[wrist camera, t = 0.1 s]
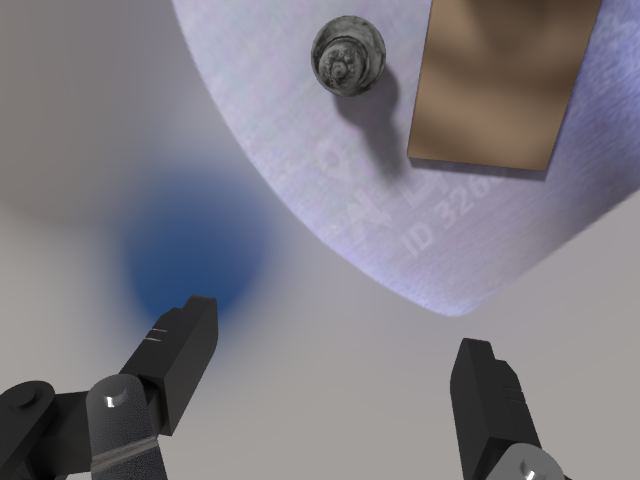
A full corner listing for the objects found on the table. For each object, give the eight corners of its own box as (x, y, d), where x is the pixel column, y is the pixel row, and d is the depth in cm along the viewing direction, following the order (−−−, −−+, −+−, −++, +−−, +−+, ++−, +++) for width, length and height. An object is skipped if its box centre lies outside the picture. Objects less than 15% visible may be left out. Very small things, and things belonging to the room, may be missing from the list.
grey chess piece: (399, 61, 37) (405, 82, 26) (343, 103, 39) (327, 138, 28) (359, -2, 35) (348, -6, 24) (303, 46, 37) (271, 60, 27)
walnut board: (440, -55, 33) (443, -58, 31) (607, -45, 32) (617, -47, 30) (406, 152, 40) (407, 157, 39) (540, 165, 39) (545, 171, 38)
